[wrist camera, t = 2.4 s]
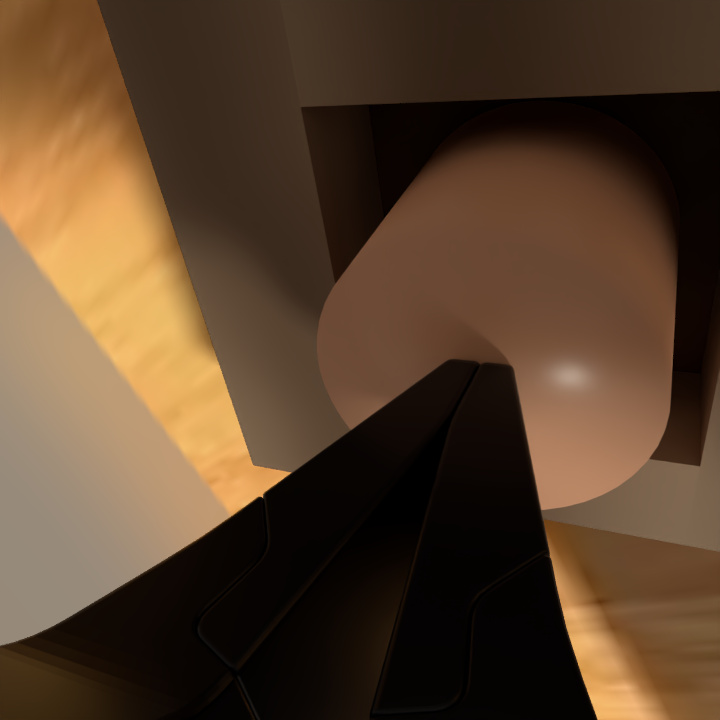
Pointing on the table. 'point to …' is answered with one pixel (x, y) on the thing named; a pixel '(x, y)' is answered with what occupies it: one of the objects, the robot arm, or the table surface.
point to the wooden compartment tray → (361, 183)
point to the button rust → (525, 289)
